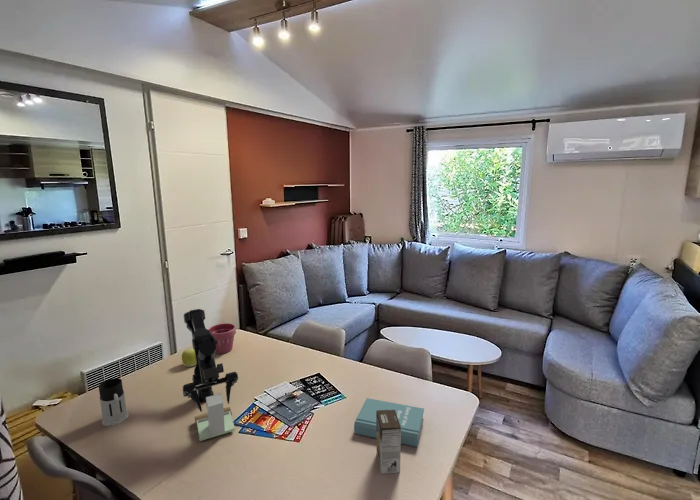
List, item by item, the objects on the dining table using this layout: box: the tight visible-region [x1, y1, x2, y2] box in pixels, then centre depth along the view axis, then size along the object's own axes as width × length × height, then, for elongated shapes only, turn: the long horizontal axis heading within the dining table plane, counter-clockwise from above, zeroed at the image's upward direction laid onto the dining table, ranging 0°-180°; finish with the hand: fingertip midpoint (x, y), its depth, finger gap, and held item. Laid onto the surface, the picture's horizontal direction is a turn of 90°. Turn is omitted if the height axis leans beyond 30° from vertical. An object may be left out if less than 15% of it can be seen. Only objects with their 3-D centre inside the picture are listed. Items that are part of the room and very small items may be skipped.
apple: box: [181, 348, 196, 368], centre depth 184 cm, size 8×8×10 cm
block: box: [205, 393, 225, 436], centre depth 131 cm, size 5×5×13 cm
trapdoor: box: [197, 411, 236, 442], centre depth 135 cm, size 9×12×1 cm
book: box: [353, 397, 425, 448], centre depth 136 cm, size 23×16×5 cm
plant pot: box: [208, 322, 237, 355], centre depth 199 cm, size 14×14×13 cm
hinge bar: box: [194, 406, 233, 429], centre depth 141 cm, size 4×13×2 cm, turn 118°
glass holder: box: [98, 377, 129, 427], centre depth 140 cm, size 9×14×15 cm, turn 44°
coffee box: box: [376, 410, 402, 475], centre depth 117 cm, size 9×6×16 cm
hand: (215, 407), depth 130 cm, fingers open, 9 cm apart
